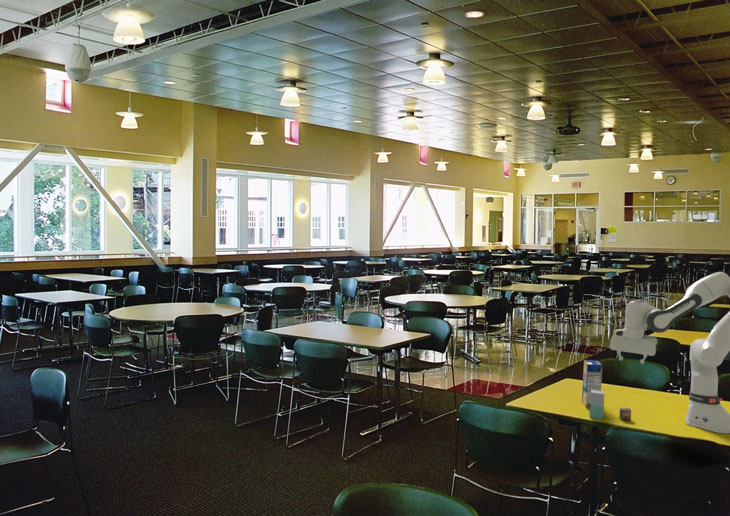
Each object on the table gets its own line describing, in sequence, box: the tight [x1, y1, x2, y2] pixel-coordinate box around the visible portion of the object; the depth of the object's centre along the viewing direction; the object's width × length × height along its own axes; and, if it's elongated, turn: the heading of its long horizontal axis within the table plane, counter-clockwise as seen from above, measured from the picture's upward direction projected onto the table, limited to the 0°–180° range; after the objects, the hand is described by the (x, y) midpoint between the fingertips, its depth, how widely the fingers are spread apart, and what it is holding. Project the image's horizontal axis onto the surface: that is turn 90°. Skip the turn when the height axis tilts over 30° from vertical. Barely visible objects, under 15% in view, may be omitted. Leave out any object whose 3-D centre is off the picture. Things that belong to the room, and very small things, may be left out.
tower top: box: [590, 390, 605, 407], centre depth 297 cm, size 6×6×6 cm
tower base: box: [589, 405, 605, 420], centre depth 297 cm, size 6×6×6 cm
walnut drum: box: [619, 407, 632, 422], centre depth 294 cm, size 5×5×5 cm
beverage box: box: [581, 359, 603, 409], centre depth 316 cm, size 7×11×22 cm, turn 171°
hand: (631, 361), depth 298 cm, fingers open, 8 cm apart
